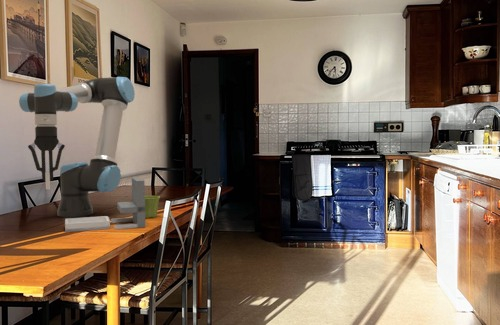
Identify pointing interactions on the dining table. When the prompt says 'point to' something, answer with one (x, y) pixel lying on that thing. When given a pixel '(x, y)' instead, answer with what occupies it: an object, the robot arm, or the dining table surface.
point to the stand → (133, 207)
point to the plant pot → (151, 206)
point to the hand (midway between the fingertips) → (48, 189)
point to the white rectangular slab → (87, 223)
